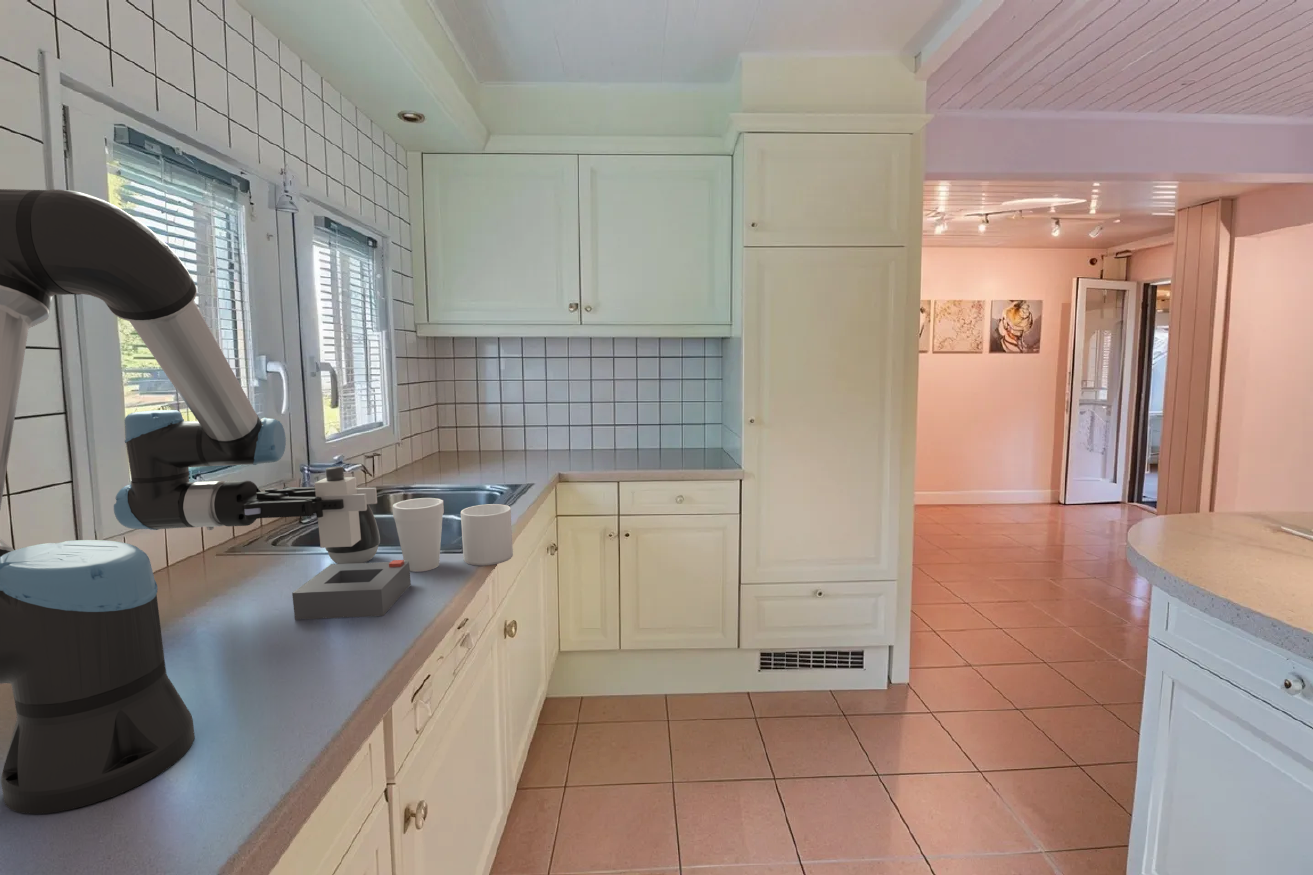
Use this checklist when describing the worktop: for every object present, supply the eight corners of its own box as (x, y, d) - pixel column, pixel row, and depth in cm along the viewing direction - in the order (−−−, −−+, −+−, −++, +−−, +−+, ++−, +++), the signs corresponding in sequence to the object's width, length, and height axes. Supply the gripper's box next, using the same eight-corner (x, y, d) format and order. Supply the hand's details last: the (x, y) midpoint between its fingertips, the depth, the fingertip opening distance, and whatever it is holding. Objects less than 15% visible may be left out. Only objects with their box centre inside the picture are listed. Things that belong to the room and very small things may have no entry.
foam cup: (400, 561, 131) (396, 499, 129) (448, 556, 133) (444, 496, 131) (394, 576, 122) (389, 510, 120) (445, 571, 124) (441, 506, 122)
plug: (351, 546, 105) (345, 469, 104) (320, 547, 105) (313, 470, 103) (360, 539, 109) (354, 465, 108) (331, 540, 109) (324, 466, 107)
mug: (509, 564, 128) (507, 514, 126) (459, 567, 127) (455, 517, 125) (517, 545, 140) (515, 500, 139) (471, 548, 139) (468, 502, 138)
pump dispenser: (361, 571, 125) (355, 496, 123) (315, 569, 127) (308, 495, 125) (392, 555, 135) (387, 485, 133) (349, 553, 137) (343, 484, 135)
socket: (383, 615, 103) (380, 585, 103) (294, 619, 103) (291, 589, 102) (410, 584, 117) (408, 558, 117) (333, 587, 116) (330, 561, 116)
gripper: (256, 512, 114) (389, 508, 116) (195, 541, 97) (352, 535, 99) (251, 471, 113) (386, 467, 115) (189, 493, 96) (348, 487, 98)
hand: (370, 498), depth 107 cm, fingers closed on plug, 4 cm apart
